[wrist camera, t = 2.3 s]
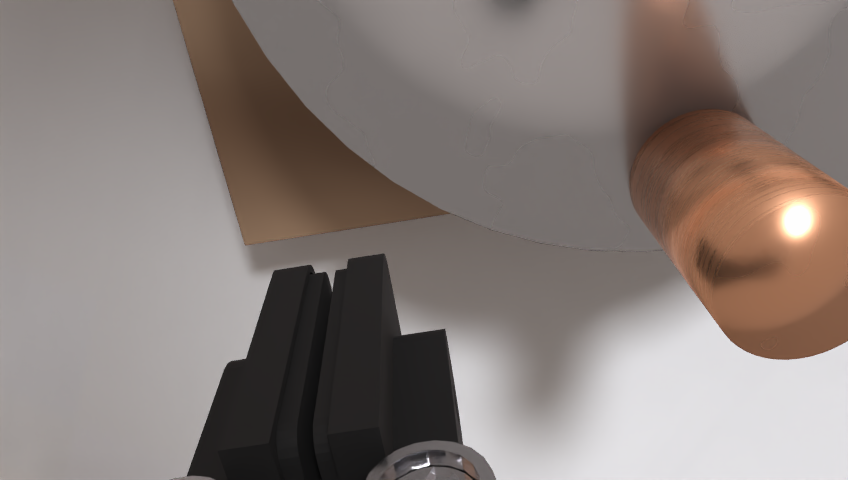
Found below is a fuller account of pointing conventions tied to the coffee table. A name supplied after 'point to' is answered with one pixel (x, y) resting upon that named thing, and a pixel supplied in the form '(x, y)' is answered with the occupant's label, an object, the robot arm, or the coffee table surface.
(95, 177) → the coffee table surface
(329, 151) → the wheel base
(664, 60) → the handwheel
